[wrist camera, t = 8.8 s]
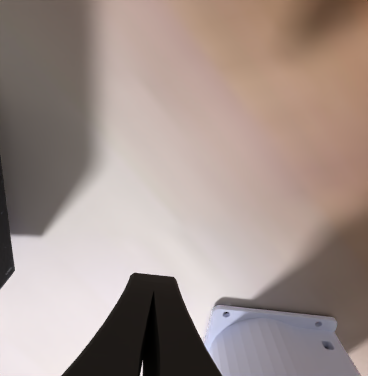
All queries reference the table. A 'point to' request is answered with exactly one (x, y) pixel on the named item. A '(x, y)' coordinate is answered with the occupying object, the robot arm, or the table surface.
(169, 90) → the table surface
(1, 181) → the small box
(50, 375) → the table surface
